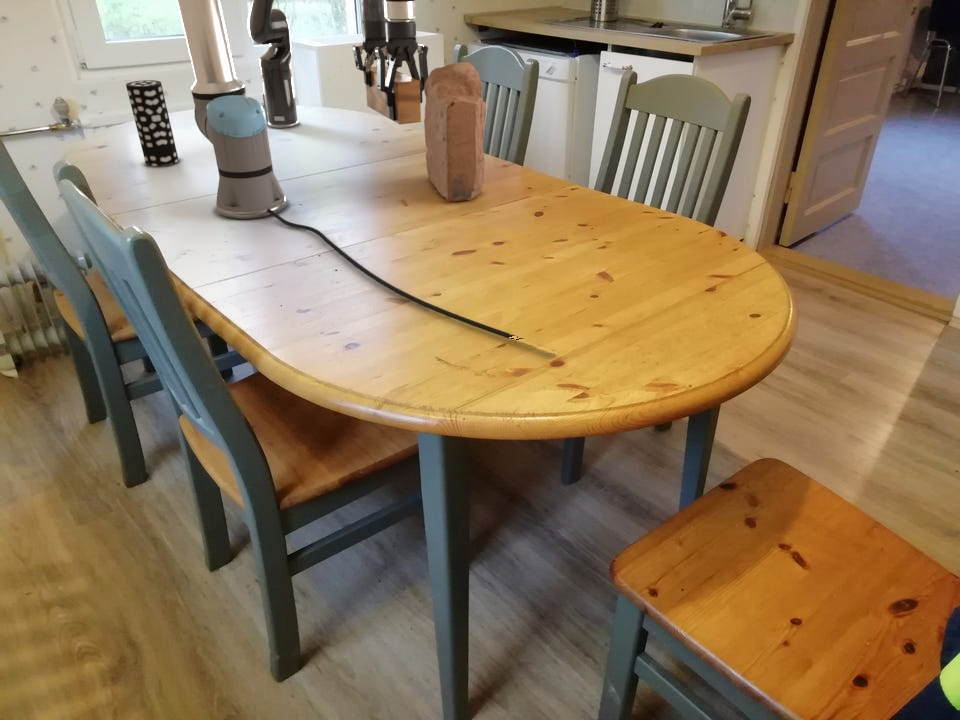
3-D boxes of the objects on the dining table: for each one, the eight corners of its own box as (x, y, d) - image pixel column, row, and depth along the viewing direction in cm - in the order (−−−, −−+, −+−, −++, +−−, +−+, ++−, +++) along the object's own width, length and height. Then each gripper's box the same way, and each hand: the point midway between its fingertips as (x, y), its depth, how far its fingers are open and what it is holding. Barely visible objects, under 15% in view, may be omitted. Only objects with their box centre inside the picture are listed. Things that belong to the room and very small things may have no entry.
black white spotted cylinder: (184, 157, 190) (167, 80, 179) (169, 166, 183) (151, 87, 172) (155, 156, 190) (136, 79, 179) (139, 165, 183) (119, 86, 172)
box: (421, 122, 179) (419, 80, 174) (399, 124, 177) (397, 82, 171) (387, 104, 196) (385, 65, 191) (367, 106, 194) (364, 67, 188)
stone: (494, 199, 163) (495, 72, 149) (448, 204, 160) (444, 75, 146) (466, 175, 181) (465, 60, 167) (425, 179, 178) (420, 62, 164)
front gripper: (429, 16, 174) (431, 111, 187) (357, 20, 167) (365, 118, 179) (442, 19, 169) (443, 117, 181) (369, 23, 161) (376, 125, 173)
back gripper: (396, 15, 186) (399, 80, 195) (345, 17, 180) (350, 85, 189) (407, 18, 180) (410, 85, 189) (355, 20, 174) (360, 90, 183)
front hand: (404, 117), depth 180 cm, fingers closed on box, 6 cm apart
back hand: (380, 85), depth 189 cm, fingers closed on box, 6 cm apart
